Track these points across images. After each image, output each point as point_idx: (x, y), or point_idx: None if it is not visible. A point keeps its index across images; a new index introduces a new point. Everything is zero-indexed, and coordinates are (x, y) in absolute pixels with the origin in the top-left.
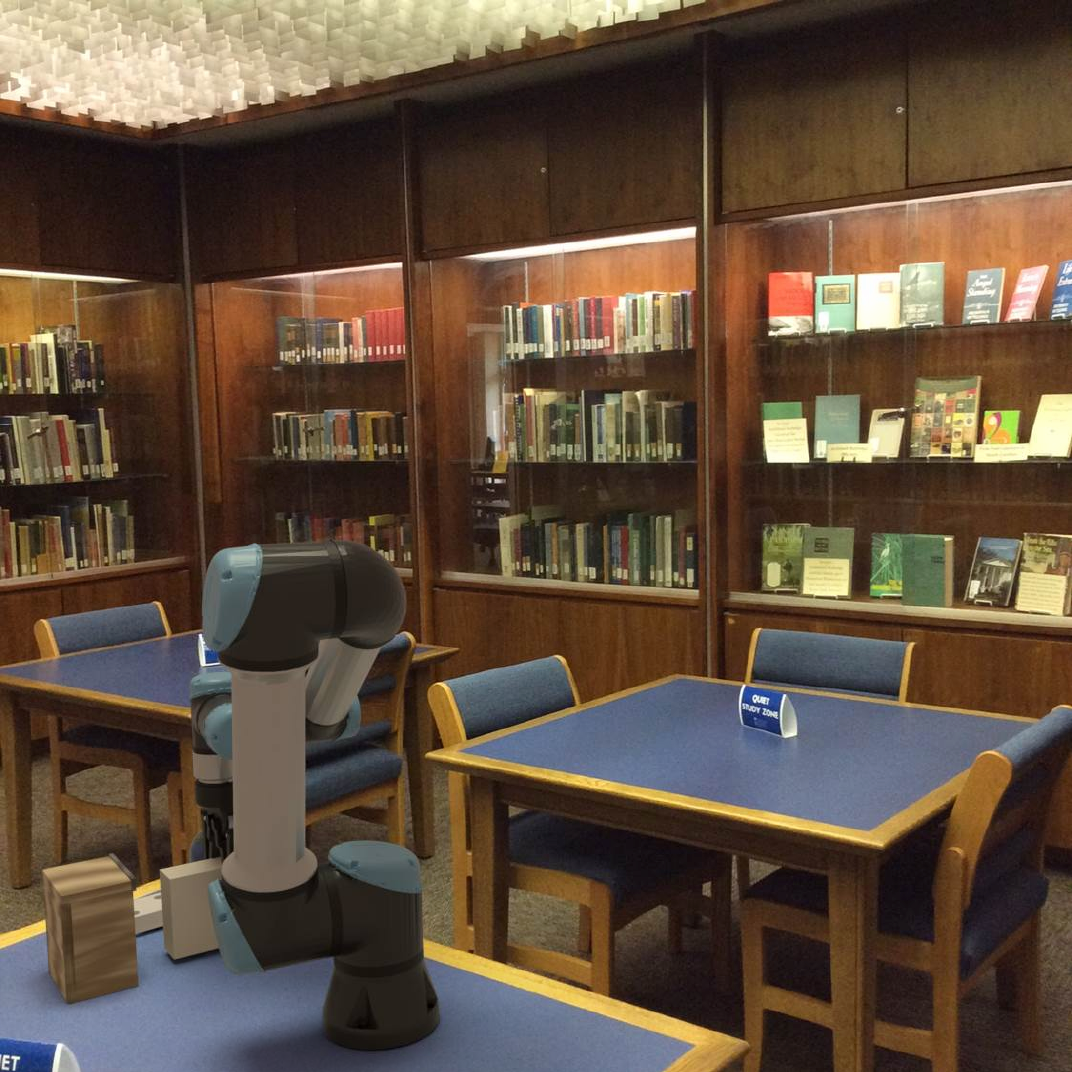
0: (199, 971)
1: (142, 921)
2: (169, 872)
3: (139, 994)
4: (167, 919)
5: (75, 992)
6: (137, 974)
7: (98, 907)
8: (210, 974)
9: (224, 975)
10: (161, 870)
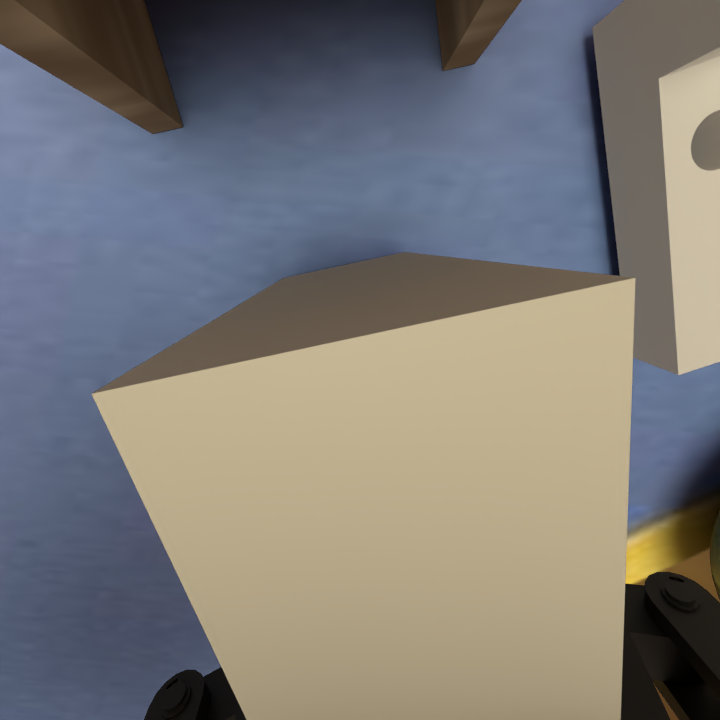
0: None
1: (642, 181)
2: (415, 408)
3: (76, 131)
4: (340, 277)
5: None
6: (126, 117)
7: None
8: None
9: None
10: (572, 302)
